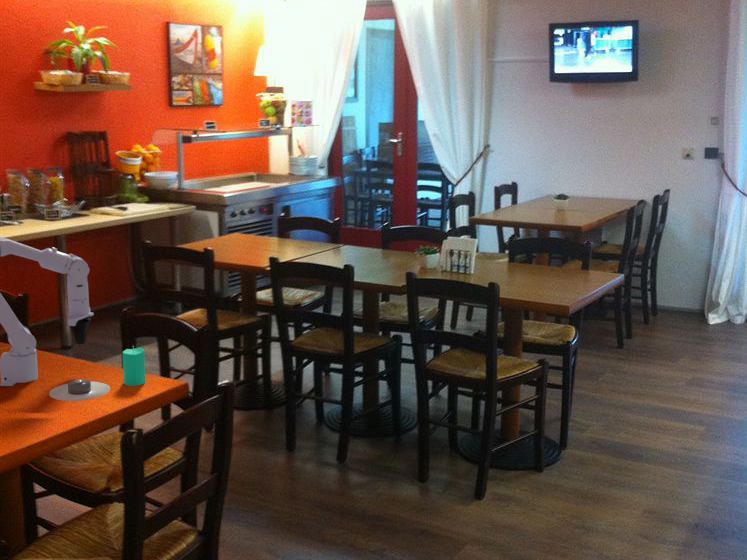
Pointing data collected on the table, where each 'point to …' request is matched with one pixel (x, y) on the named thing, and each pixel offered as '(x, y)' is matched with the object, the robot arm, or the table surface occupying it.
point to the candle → (134, 366)
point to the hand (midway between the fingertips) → (80, 343)
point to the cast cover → (79, 387)
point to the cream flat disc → (96, 391)
